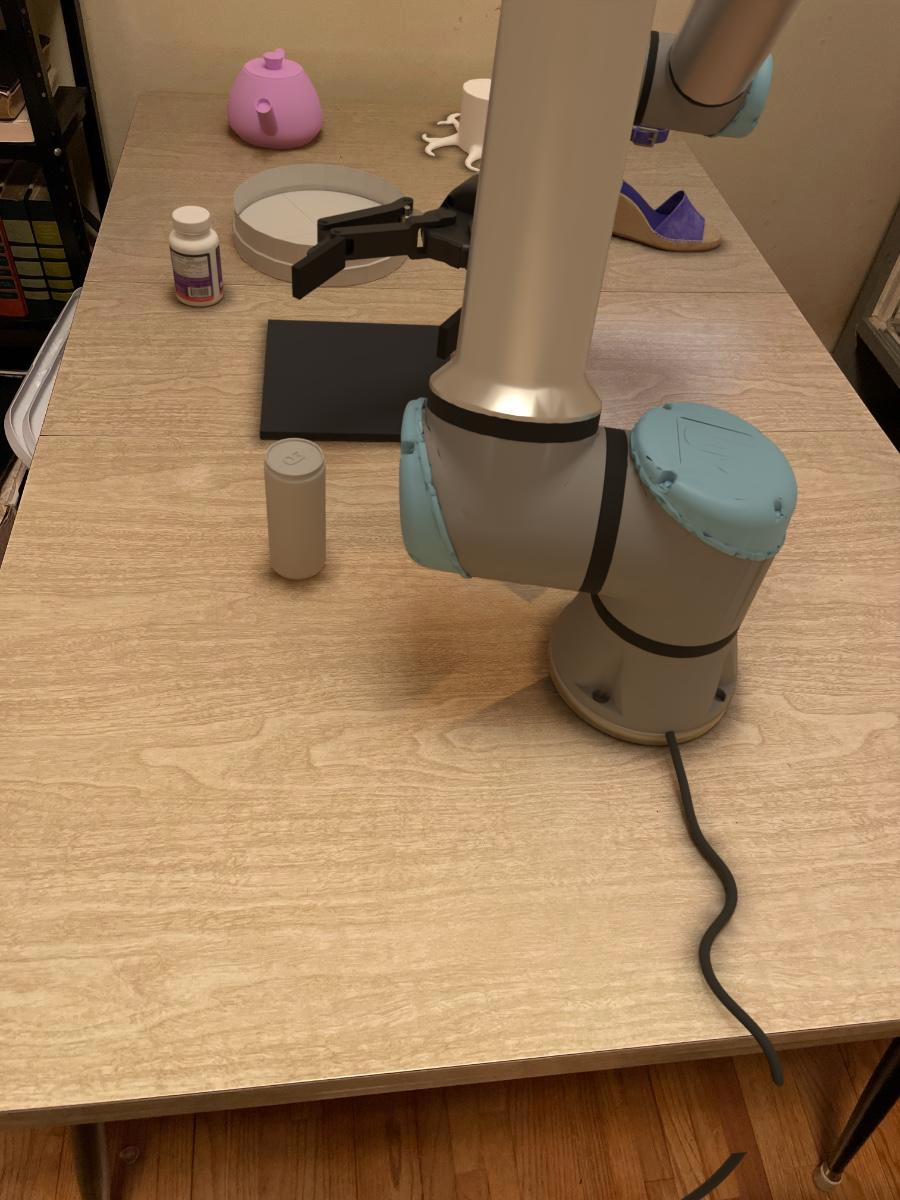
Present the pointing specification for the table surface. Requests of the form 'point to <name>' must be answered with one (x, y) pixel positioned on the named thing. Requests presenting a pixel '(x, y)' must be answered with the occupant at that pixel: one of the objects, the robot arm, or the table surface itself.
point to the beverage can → (296, 507)
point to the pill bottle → (195, 257)
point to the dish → (305, 217)
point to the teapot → (274, 103)
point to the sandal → (662, 212)
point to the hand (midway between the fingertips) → (366, 312)
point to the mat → (344, 378)
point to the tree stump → (467, 122)
